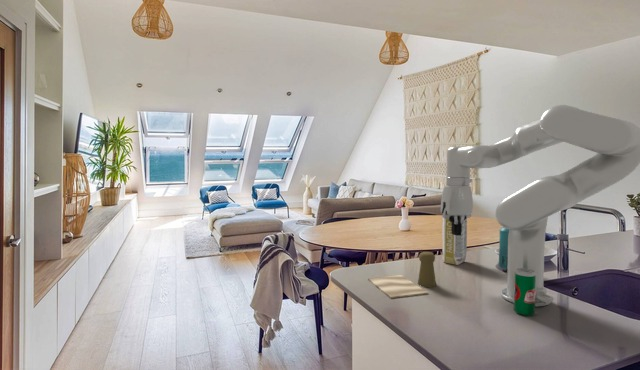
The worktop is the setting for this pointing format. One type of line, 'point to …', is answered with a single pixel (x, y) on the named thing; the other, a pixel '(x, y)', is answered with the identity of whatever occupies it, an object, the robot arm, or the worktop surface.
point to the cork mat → (397, 286)
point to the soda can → (524, 291)
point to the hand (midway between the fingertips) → (456, 234)
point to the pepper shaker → (427, 270)
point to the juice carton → (454, 243)
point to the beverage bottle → (503, 248)
